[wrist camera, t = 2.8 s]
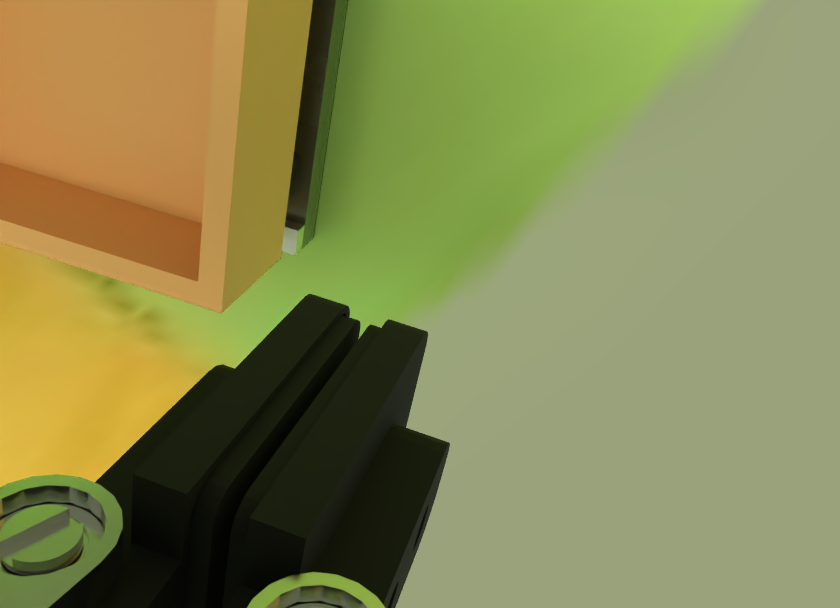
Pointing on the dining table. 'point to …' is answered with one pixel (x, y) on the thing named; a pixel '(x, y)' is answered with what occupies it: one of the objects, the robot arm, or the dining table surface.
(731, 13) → the dining table surface
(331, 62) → the grey flat slab
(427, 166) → the dining table surface
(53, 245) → the orange open tray
